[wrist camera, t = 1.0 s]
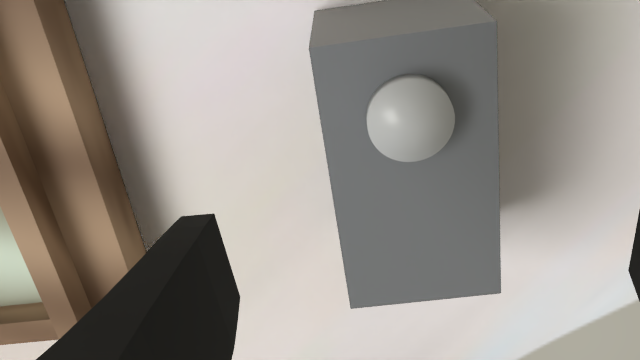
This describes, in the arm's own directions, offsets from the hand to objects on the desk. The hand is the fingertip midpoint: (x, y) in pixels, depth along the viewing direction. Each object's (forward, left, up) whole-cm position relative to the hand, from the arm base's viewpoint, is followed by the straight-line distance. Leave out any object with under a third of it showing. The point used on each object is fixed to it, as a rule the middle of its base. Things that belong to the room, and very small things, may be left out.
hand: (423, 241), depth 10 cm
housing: (-3, -1, -12) cm, 12 cm away
